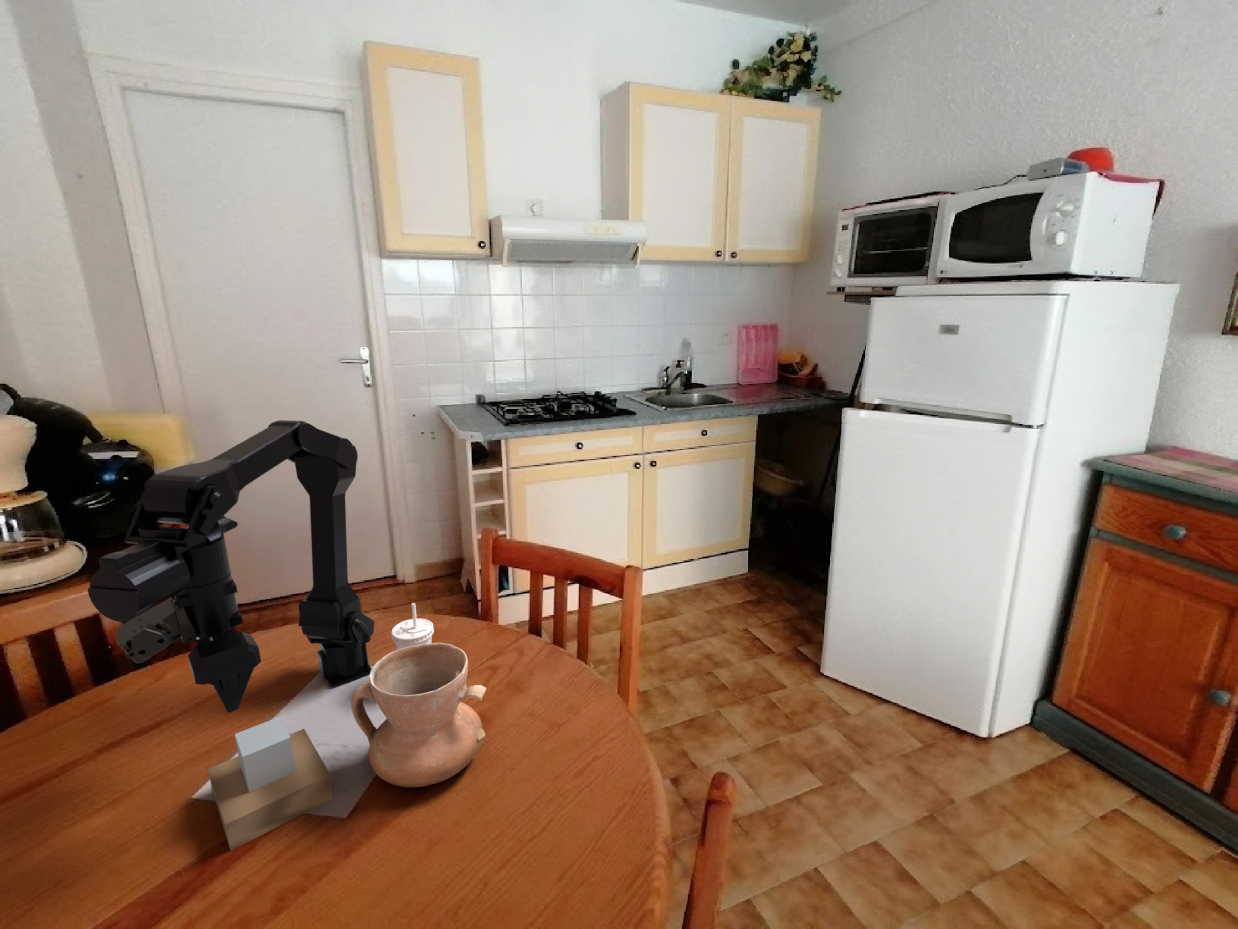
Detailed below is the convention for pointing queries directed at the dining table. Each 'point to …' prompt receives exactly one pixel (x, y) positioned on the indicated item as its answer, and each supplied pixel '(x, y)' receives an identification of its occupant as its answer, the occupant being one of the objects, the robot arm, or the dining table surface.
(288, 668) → the dining table surface
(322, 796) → the brown boxy piece
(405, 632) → the smoothie
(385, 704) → the ceramic jug
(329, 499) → the robot arm
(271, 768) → the grey cube
